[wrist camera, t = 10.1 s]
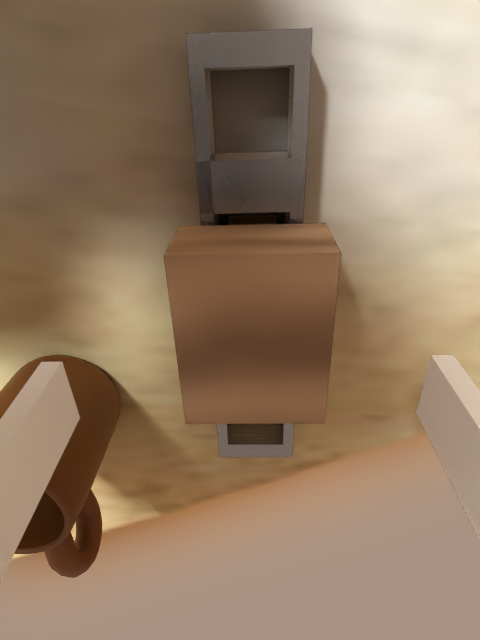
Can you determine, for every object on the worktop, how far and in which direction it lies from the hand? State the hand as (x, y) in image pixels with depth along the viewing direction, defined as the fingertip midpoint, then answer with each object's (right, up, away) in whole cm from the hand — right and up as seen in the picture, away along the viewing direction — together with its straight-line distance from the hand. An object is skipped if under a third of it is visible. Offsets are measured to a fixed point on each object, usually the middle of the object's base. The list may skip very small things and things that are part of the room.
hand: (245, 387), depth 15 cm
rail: (+1, +5, +9) cm, 11 cm away
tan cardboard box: (+1, +5, +9) cm, 11 cm away
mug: (-12, -5, +15) cm, 20 cm away
